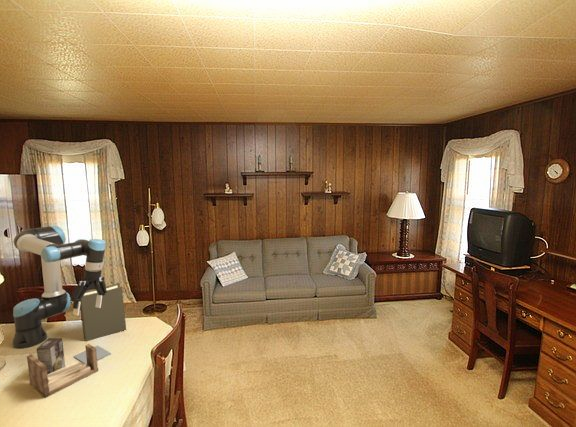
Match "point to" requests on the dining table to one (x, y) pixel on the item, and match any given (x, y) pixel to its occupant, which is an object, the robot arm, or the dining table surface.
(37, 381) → the rack
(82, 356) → the mat
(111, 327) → the book
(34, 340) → the robot arm
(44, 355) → the coffee box
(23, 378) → the dining table surface
